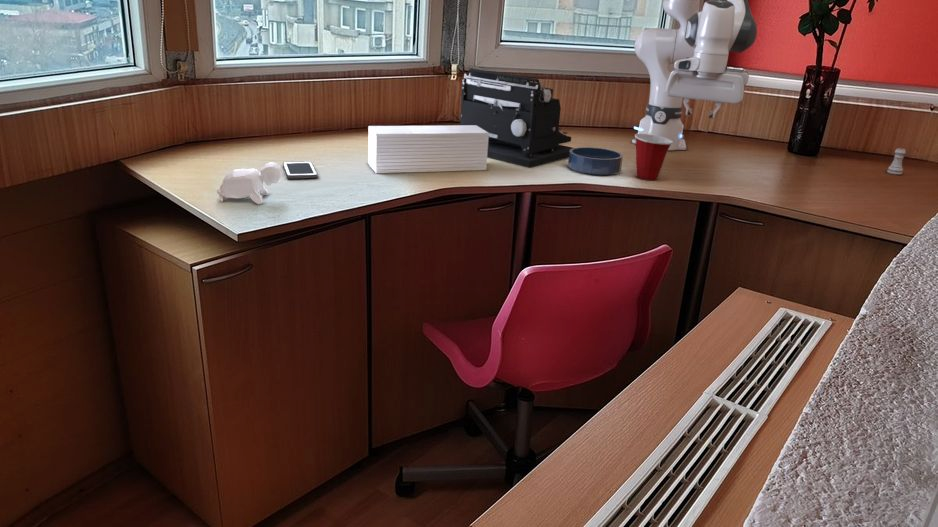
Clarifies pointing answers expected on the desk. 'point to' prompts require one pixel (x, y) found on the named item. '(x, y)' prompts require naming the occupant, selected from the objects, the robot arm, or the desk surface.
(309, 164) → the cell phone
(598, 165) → the bowl
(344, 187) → the desk surface
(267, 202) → the desk surface
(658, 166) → the plastic cup
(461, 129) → the stack of papers
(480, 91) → the typewriter
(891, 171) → the rook chess piece
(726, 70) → the robot arm
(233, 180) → the white animal figurine
